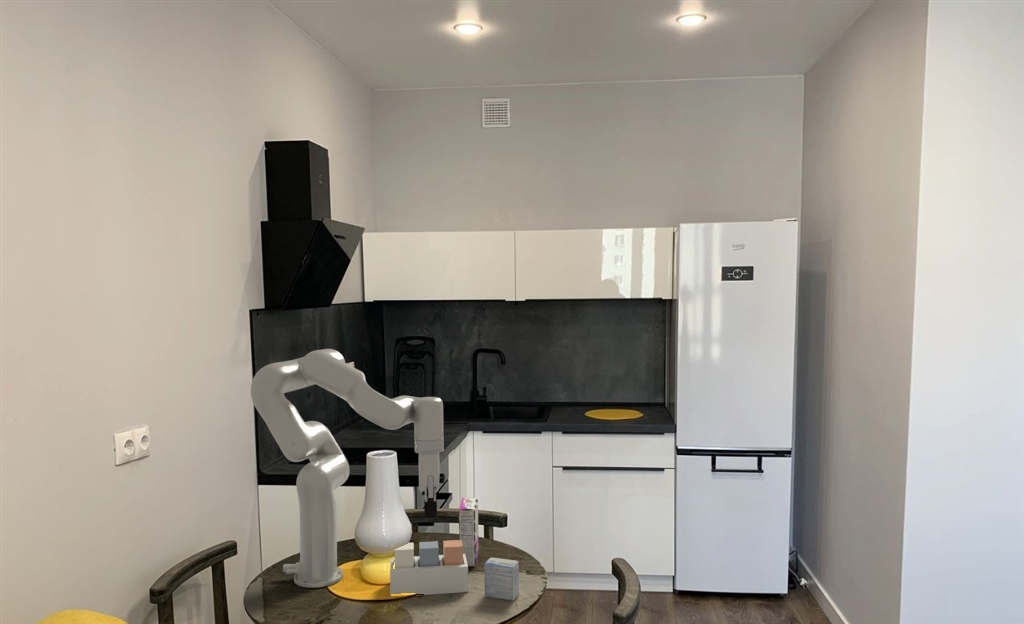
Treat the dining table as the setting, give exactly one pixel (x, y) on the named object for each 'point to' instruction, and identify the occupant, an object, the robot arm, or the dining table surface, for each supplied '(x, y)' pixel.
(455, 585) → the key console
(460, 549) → the terracotta key
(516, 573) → the medicine box
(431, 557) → the slate key
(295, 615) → the dining table surface
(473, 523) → the candy bar box
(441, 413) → the robot arm
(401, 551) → the ivory key
